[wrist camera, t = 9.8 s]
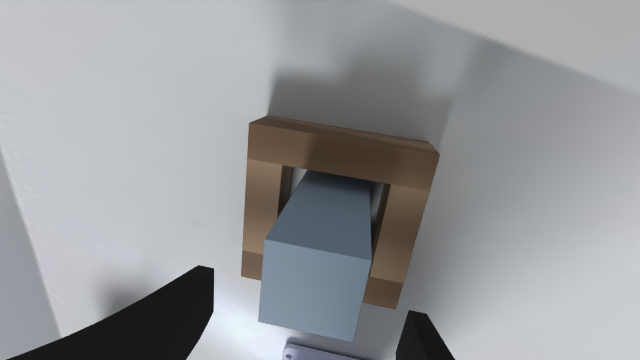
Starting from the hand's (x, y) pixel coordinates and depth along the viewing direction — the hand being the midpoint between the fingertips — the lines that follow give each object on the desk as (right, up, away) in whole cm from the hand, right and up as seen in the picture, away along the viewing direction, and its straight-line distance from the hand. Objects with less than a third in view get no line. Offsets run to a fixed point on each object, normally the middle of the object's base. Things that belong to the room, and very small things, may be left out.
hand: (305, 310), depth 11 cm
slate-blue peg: (+1, +3, +9) cm, 10 cm away
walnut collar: (+1, +3, +9) cm, 10 cm away
